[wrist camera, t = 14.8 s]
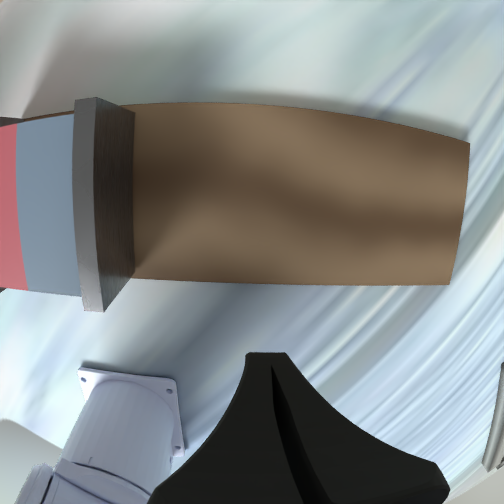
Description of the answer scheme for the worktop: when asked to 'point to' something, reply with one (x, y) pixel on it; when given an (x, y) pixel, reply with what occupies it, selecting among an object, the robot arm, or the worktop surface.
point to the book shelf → (291, 196)
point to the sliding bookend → (103, 199)
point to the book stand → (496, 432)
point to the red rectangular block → (9, 214)
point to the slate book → (47, 205)
